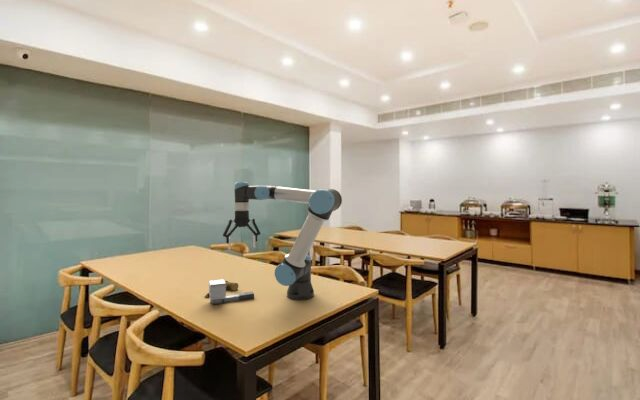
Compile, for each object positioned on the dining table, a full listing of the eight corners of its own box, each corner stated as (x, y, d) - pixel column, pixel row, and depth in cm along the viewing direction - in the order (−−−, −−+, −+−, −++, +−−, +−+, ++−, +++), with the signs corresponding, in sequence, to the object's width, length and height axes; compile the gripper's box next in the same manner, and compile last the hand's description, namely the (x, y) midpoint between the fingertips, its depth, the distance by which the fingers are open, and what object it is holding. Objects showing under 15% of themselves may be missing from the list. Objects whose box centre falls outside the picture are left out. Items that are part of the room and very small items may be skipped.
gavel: (210, 294, 173) (198, 291, 178) (211, 302, 173) (198, 299, 178) (238, 281, 191) (226, 279, 196) (238, 289, 191) (226, 286, 196)
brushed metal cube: (223, 293, 174) (223, 279, 173) (225, 298, 167) (225, 283, 167) (209, 295, 171) (209, 280, 170) (210, 300, 164) (210, 284, 164)
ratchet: (251, 295, 180) (251, 281, 180) (254, 299, 174) (254, 285, 173) (209, 301, 171) (209, 286, 170) (211, 305, 164) (210, 290, 164)
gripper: (262, 208, 186) (262, 245, 187) (217, 210, 175) (217, 248, 176) (265, 209, 179) (265, 247, 180) (219, 211, 169) (219, 251, 170)
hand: (242, 248), depth 178 cm, fingers open, 13 cm apart
